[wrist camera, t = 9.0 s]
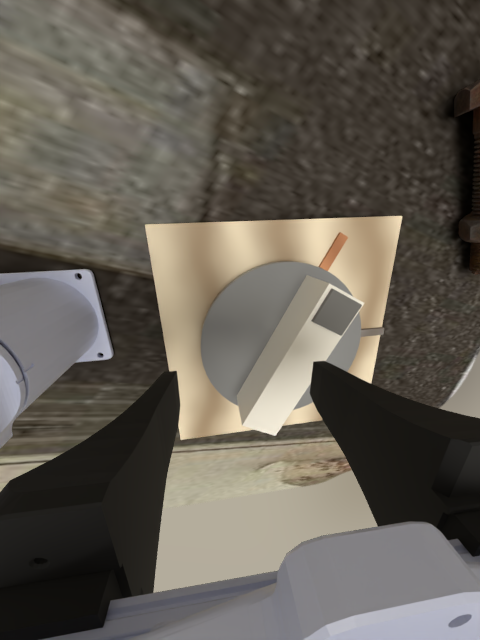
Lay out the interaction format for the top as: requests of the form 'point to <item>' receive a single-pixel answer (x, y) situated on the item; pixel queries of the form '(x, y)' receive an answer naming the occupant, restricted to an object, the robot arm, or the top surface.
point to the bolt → (476, 224)
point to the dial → (277, 338)
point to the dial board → (242, 255)
